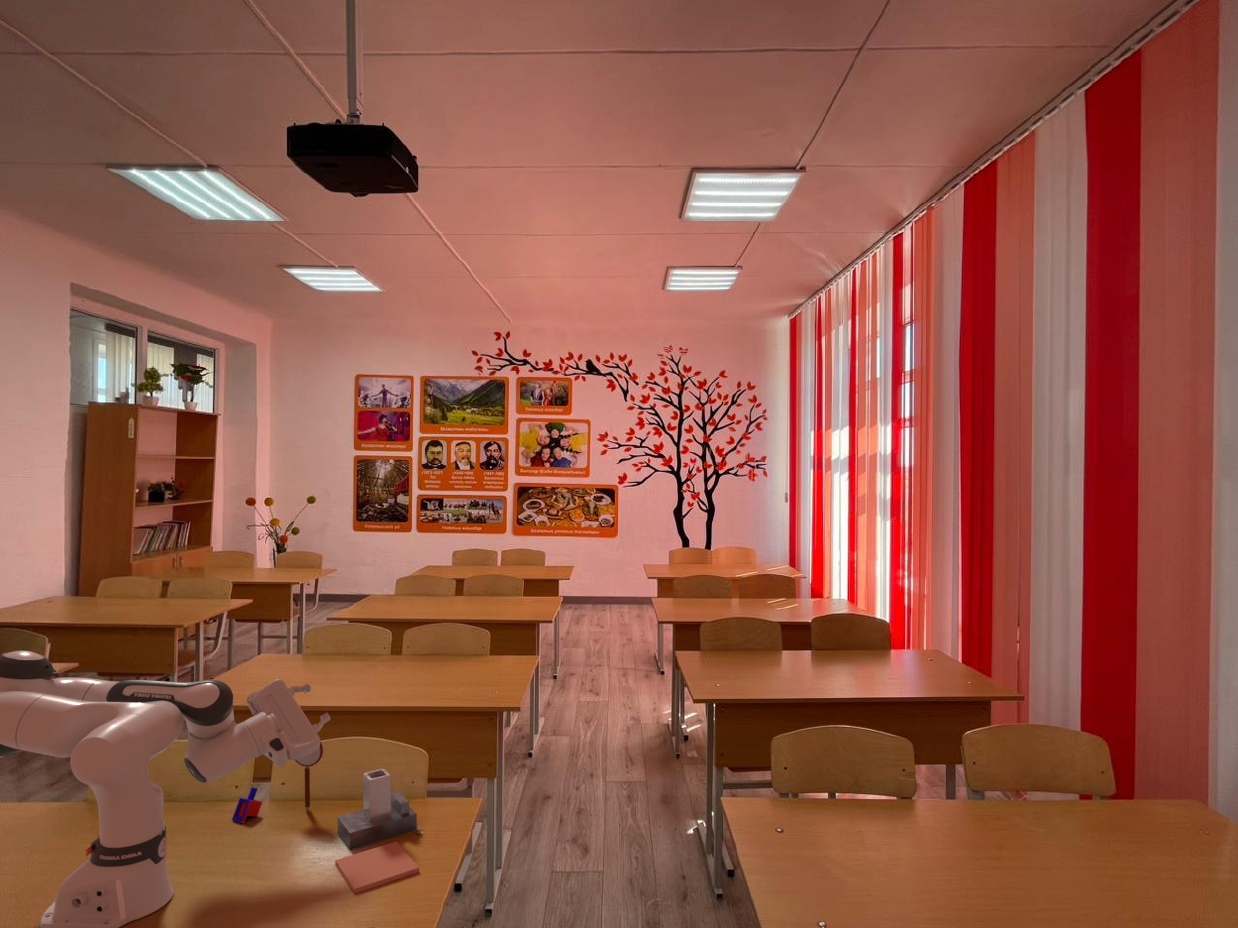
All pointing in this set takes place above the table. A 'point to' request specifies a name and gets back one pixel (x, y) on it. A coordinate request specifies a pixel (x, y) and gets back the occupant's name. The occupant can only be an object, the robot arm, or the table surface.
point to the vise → (377, 824)
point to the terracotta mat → (376, 867)
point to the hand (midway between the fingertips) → (319, 701)
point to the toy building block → (247, 807)
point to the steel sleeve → (377, 794)
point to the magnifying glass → (309, 761)
